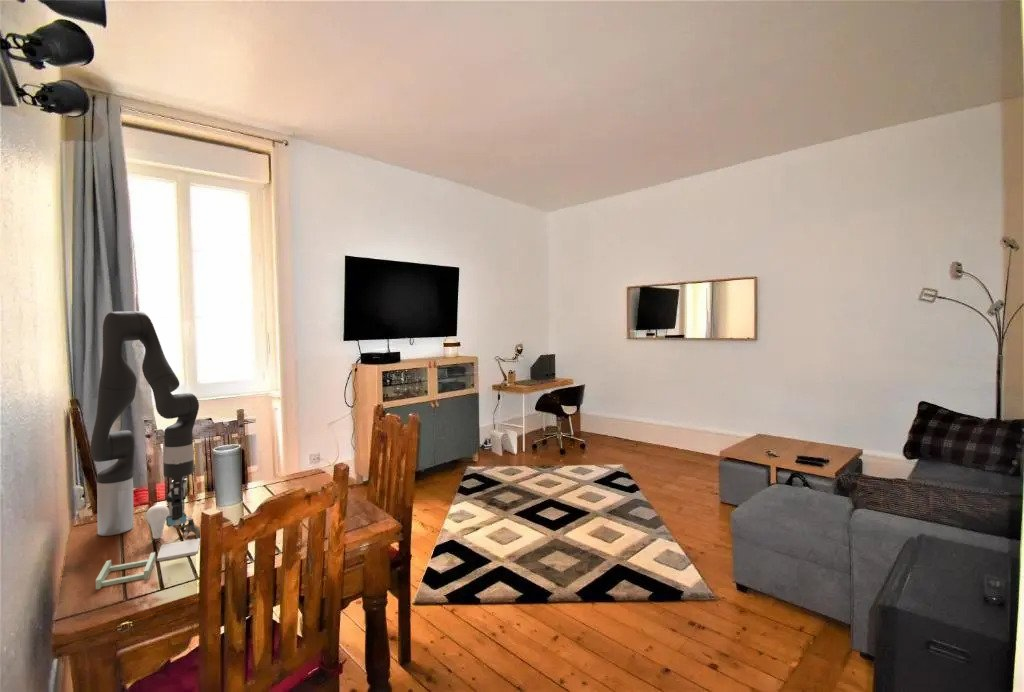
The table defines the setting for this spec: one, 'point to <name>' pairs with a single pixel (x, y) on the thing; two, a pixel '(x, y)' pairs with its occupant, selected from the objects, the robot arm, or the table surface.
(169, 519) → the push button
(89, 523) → the table surface
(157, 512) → the lightbulb
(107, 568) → the frame
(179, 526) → the eagle figurine
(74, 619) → the table surface
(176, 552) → the tile
